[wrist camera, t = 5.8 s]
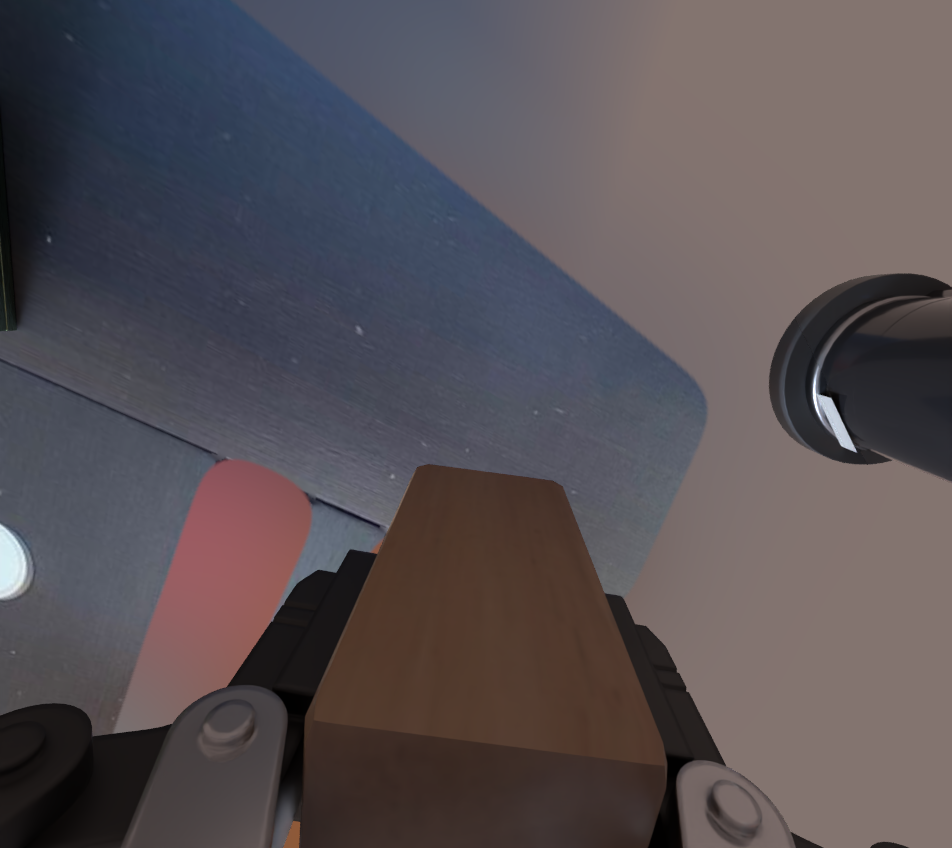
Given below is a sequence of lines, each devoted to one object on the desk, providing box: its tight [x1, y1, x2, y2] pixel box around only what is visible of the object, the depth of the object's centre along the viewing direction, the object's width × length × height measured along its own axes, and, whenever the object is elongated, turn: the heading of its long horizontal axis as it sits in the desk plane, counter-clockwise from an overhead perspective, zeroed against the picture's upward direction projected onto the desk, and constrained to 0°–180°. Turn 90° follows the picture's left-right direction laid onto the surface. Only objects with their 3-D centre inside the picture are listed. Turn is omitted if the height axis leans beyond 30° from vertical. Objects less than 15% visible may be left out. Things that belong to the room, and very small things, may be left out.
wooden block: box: [299, 464, 667, 848], centre depth 9 cm, size 4×4×8 cm
